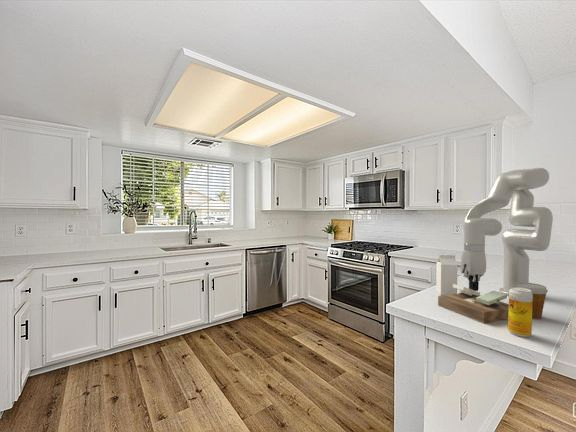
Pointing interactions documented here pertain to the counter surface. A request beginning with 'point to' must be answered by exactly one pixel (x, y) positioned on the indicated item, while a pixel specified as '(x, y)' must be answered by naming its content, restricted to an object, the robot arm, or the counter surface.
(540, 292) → the disposable coffee cup
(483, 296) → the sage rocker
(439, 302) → the switch unit
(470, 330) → the counter surface
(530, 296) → the beer can
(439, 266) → the milk carton
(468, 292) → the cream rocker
